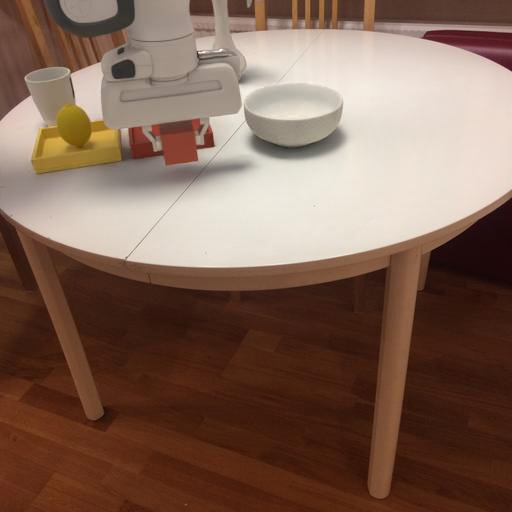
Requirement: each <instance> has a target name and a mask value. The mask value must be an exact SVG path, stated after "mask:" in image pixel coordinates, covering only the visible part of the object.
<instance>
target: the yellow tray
mask: <svg viewBox="0 0 512 512" xmlns="http://www.w3.org/2000/svg"><path fill="white" fill-rule="evenodd" d="M90 123H91V129H92V133H91V137H90V139H89V140H88V141H87V142H86V143H85V144H83V146H82V147H81V148H79V147H77V146H73V145H70V144H68V143H67V142H65V141H64V140H63V139H62V137H61V136H60V134H59V131H58V128H57V126H52V127H49V126H46V127H39V128H38V131H37V134H36V138H35V142H34V145H33V146H34V147H33V150H32V154H31V158H30V162H31V164H32V169H33V170H34V173H35V175H37V174H43V173H50V172H56V171H63V170H64V171H65V170H69V169H70V170H71V169H77V168H83V167H88V166H89V167H90V166H95V165H104V164H109V163H110V164H111V163H116V162H121V161H122V160H123V157H122V155H123V153H122V135H121V129H117V130H111V129H109V128H108V127H107V126H106V125H105V124H104V120H103V118H102V119H101V118H100V119H95V120H94V119H93V120H90Z"/></svg>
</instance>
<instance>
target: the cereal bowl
mask: <svg viewBox="0 0 512 512" xmlns="http://www.w3.org/2000/svg"><path fill="white" fill-rule="evenodd" d="M343 110H344V99H343V96H342V94H340V92H338V91H337V90H335V89H333V88H331V87H328V86H325V85H321V84H315V83H308V82H306V83H305V82H285V83H276V84H271V85H267V86H263V87H260V88H257V89H255V90H253V91H251V92H250V93H249V94H247V95H246V97H245V98H244V102H243V113H244V117H245V122H246V124H247V126H248V128H249V129H250V130H251V132H252V133H253V134H254V135H256V136H257V137H259V139H262V140H263V141H266V142H268V143H272V144H275V145H276V146H279V147H283V148H299V147H306V146H308V145H310V144H312V143H316V142H319V141H322V140H323V139H325V138H327V137H329V136H330V135H331V134H332V133H333V132H334V131H335V130H336V129H337V128H338V126H339V124H340V122H341V119H342V116H343Z"/></svg>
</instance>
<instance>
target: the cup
mask: <svg viewBox="0 0 512 512" xmlns="http://www.w3.org/2000/svg"><path fill="white" fill-rule="evenodd" d="M24 81H25V83H26V87H27V89H28V91H29V93H30V96H31V99H32V101H33V103H34V105H35V107H36V109H37V110H38V112H39V114H40V116H41V118H42V120H43V121H44V122H45V124H46V125H47V127H52V126H57V114H58V112H59V111H60V109H61V108H62V107H64V106H65V105H66V104H68V103H70V104H71V105H76V106H77V103H76V102H77V101H76V94H75V93H76V92H75V88H74V84H73V78H72V75H71V70H70V69H69V68H68V67H62V66H53V67H52V66H51V67H46V68H45V67H44V68H41V69H37V70H33V71H31V72H29V73H28V74H26V75H25V76H24Z"/></svg>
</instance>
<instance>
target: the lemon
mask: <svg viewBox="0 0 512 512" xmlns="http://www.w3.org/2000/svg"><path fill="white" fill-rule="evenodd" d="M90 121H91V119H90V118H89V116H88V114H87V112H86V111H85V110H84V109H83V108H82V107H80V106H79V105H77V104H76V105H71V104H70V103H68V104H66V105H65V106H64V107H62V108H61V109H60V111H59V112H58V114H57V128H58V131H59V134H60V136H61V137H62V139H63V140H64V141H65V142H67V143H68V144H70V145H73V146H77V147H79V148H81V147H82V146H83V144H85V143H86V142H87V141H88V140H89V139H90V137H91V133H92V129H91V123H90Z"/></svg>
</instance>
